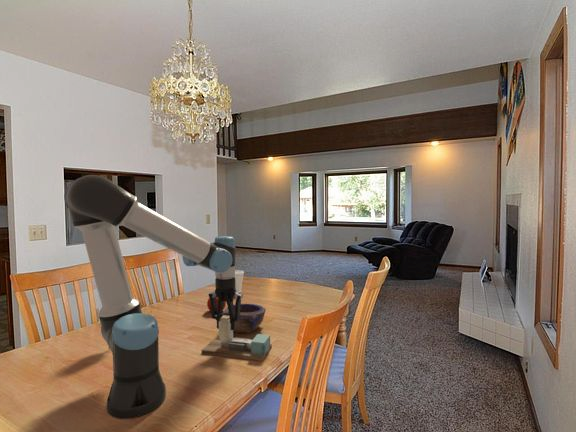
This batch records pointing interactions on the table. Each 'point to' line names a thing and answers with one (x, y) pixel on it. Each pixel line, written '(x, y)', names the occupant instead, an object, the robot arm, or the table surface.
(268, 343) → the socket block
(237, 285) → the cup
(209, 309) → the fruit
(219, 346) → the rail base
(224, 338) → the slide bar
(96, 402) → the table surface
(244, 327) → the bowl
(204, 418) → the table surface
